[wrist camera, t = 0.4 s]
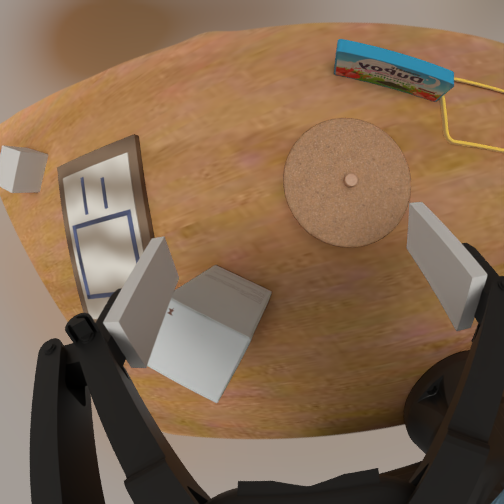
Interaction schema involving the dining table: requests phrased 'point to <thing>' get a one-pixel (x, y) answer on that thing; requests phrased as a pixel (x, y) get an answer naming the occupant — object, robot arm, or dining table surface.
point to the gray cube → (21, 169)
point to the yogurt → (392, 70)
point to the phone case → (445, 122)
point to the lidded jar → (347, 182)
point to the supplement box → (208, 330)
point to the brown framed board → (105, 219)
